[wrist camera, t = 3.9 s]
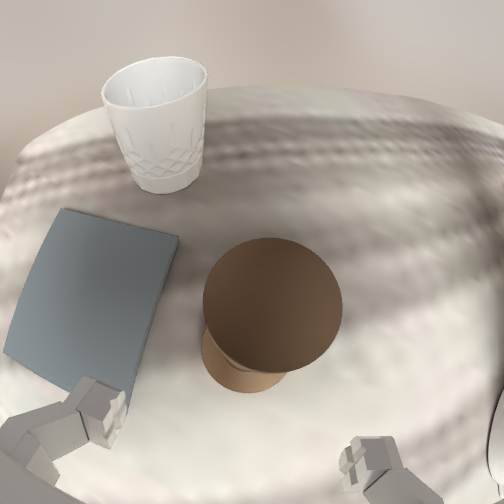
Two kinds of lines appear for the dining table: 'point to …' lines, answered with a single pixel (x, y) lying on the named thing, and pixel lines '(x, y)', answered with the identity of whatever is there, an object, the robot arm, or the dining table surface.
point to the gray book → (90, 301)
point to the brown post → (267, 313)
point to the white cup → (159, 120)
